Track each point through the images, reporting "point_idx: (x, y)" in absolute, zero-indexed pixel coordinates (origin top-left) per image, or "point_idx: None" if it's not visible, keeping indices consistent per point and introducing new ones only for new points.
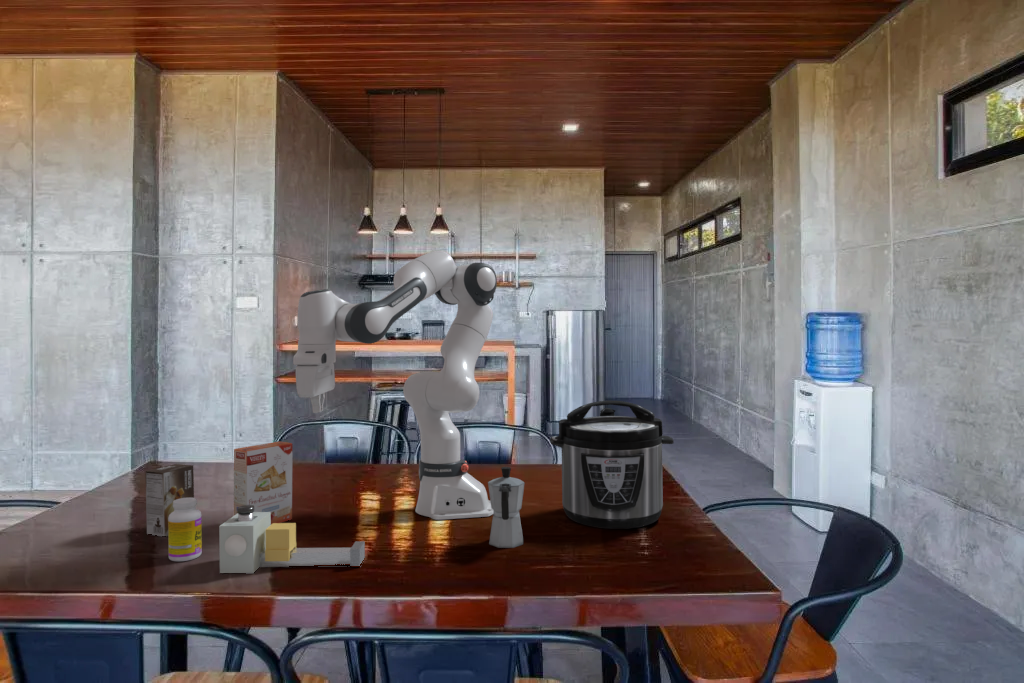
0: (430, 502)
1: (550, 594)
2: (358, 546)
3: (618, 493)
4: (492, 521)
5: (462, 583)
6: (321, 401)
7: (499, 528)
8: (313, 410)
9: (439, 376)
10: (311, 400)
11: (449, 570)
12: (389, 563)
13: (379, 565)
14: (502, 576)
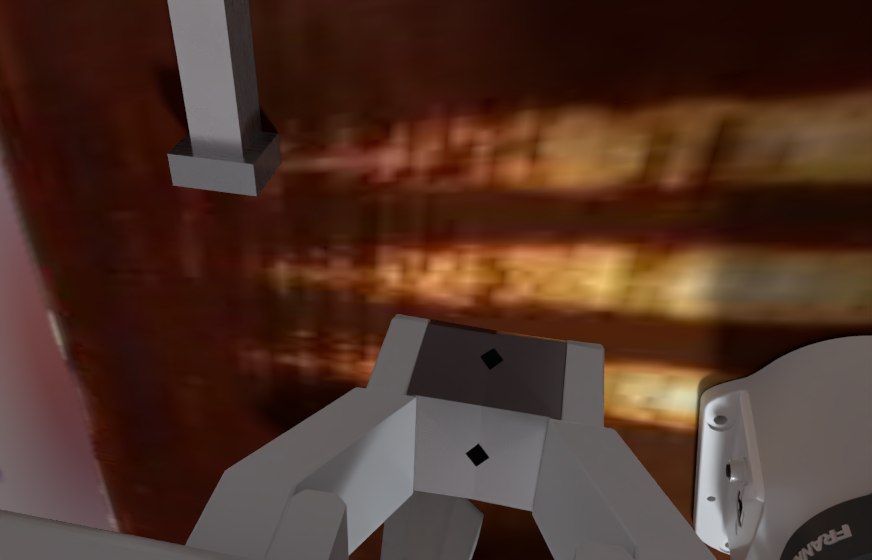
0: (761, 423)
1: (118, 513)
2: (200, 179)
3: None
4: (406, 545)
5: (139, 392)
6: (559, 548)
7: (382, 541)
8: (387, 342)
9: None
10: (249, 465)
11: (215, 377)
12: (251, 239)
13: (231, 211)
14: (193, 465)
